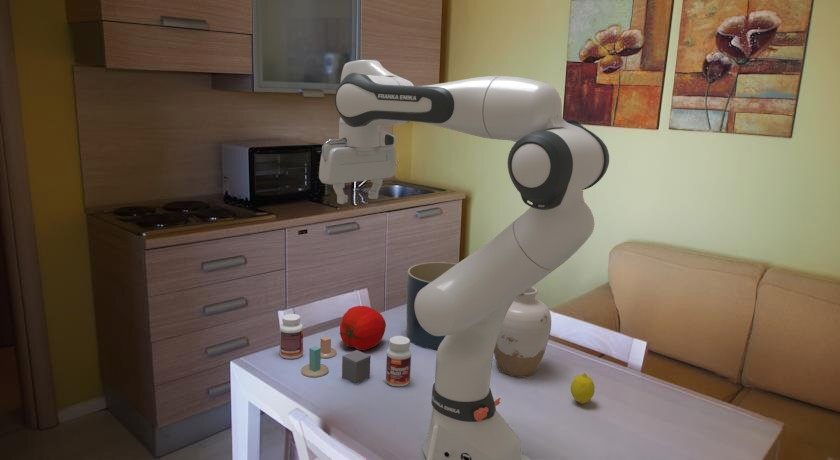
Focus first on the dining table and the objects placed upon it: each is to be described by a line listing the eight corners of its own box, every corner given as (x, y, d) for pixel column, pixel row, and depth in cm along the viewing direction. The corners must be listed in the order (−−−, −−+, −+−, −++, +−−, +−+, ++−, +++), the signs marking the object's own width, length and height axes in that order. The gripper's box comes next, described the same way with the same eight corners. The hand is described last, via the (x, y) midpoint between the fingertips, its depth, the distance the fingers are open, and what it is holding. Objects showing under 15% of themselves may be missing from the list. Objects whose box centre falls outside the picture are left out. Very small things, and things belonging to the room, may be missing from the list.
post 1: (334, 371, 158) (334, 348, 156) (313, 380, 152) (313, 356, 151) (316, 362, 162) (316, 340, 160) (295, 371, 157) (295, 348, 155)
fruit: (564, 402, 148) (567, 371, 146) (578, 395, 151) (581, 365, 149) (583, 411, 143) (587, 380, 142) (597, 404, 147) (601, 374, 145)
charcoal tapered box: (369, 377, 155) (370, 355, 154) (355, 384, 151) (356, 362, 150) (356, 371, 158) (356, 349, 157) (341, 377, 154) (342, 355, 153)
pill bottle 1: (306, 356, 165) (306, 318, 163) (284, 361, 162) (284, 322, 159) (297, 348, 170) (297, 311, 168) (276, 352, 167) (276, 315, 164)
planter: (440, 358, 168) (444, 289, 164) (389, 333, 184) (392, 269, 179) (493, 339, 183) (498, 275, 178) (441, 317, 199) (445, 258, 194)
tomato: (371, 346, 181) (341, 362, 171) (353, 307, 182) (323, 321, 172) (400, 333, 174) (371, 349, 163) (381, 293, 175) (352, 306, 164)
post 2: (341, 353, 168) (341, 338, 167) (324, 360, 164) (324, 344, 162) (326, 347, 172) (326, 332, 171) (309, 353, 167) (310, 338, 166)
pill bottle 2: (389, 388, 150) (390, 346, 147) (383, 377, 156) (384, 336, 153) (412, 386, 152) (415, 344, 149) (406, 374, 158) (408, 334, 155)
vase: (483, 377, 158) (489, 294, 153) (491, 353, 173) (497, 276, 168) (545, 387, 155) (553, 302, 149) (547, 361, 170) (555, 283, 164)
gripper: (333, 140, 120) (332, 208, 124) (401, 137, 136) (399, 198, 139) (312, 137, 124) (312, 204, 127) (381, 134, 140) (379, 194, 143)
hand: (358, 200), depth 133 cm, fingers open, 8 cm apart
